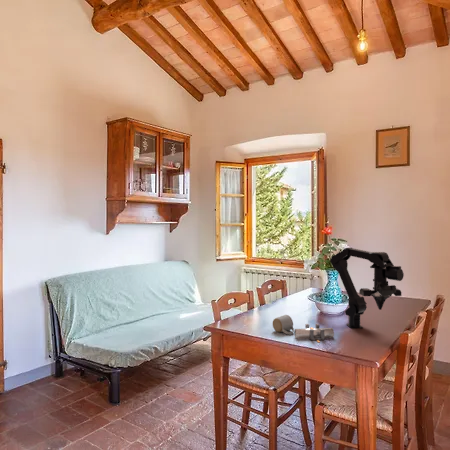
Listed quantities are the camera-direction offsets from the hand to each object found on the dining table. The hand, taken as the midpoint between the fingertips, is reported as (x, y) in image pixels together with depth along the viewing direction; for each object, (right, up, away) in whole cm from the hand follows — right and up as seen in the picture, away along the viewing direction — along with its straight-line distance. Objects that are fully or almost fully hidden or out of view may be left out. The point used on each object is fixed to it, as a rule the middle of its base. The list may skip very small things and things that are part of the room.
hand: (379, 309), depth 183 cm
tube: (-34, -13, -5) cm, 36 cm away
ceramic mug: (-46, -12, +4) cm, 48 cm away
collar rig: (-33, -12, -5) cm, 36 cm away
